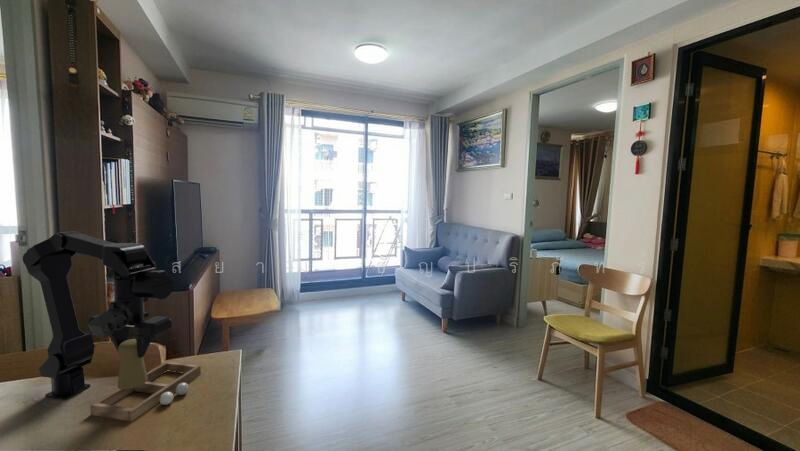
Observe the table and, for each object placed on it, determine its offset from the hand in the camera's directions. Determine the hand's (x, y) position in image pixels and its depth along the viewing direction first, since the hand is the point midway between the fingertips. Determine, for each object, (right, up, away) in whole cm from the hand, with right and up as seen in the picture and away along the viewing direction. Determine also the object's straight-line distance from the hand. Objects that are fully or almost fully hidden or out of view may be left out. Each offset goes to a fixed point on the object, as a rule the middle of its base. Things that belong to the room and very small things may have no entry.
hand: (131, 355), depth 86 cm
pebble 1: (+8, -13, +2) cm, 15 cm away
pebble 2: (+9, -13, +6) cm, 16 cm away
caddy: (0, -12, +6) cm, 14 cm away
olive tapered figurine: (0, -7, +1) cm, 7 cm away
